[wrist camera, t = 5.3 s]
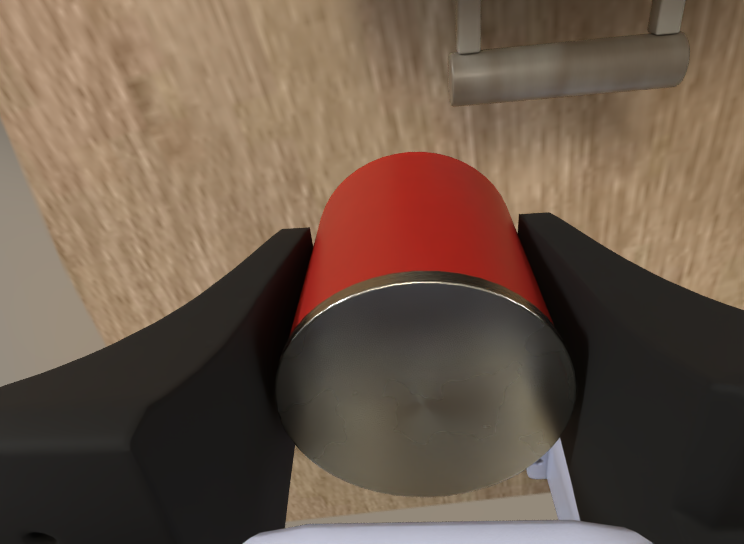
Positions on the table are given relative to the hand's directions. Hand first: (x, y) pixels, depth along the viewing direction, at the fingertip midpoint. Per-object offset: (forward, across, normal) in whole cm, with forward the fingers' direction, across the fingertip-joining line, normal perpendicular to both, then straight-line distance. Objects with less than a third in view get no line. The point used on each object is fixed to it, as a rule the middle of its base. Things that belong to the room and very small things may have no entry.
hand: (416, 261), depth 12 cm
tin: (+1, 0, 0) cm, 1 cm away
